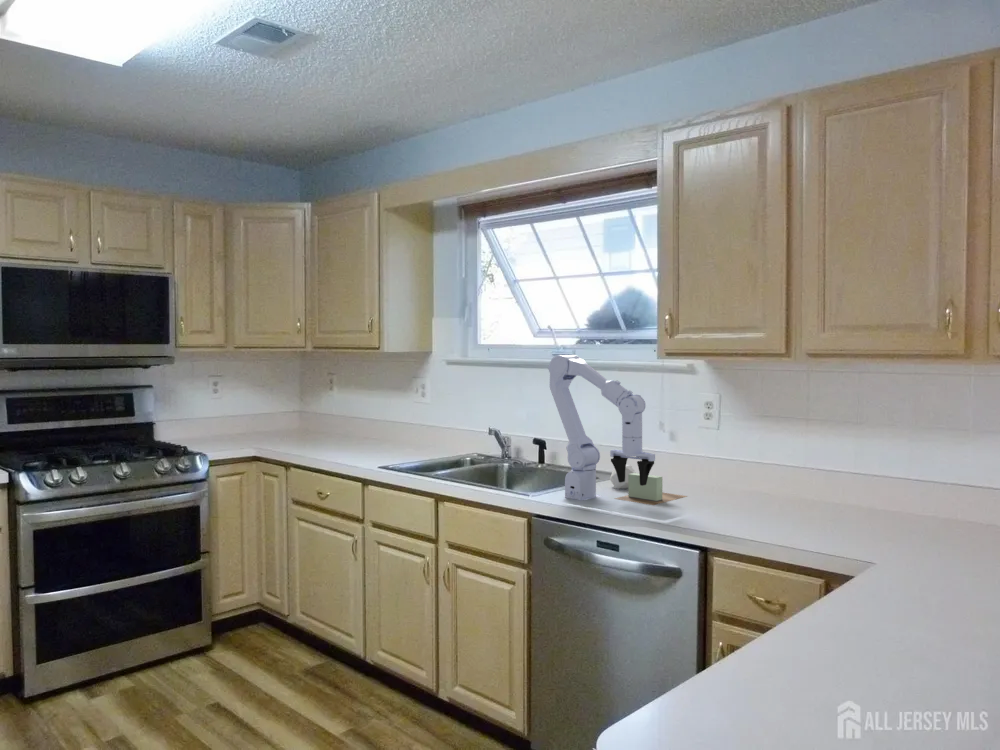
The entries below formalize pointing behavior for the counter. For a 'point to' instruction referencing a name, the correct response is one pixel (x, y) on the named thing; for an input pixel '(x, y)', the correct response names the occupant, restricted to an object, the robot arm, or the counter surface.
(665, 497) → the walnut board
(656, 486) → the sage slab
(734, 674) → the counter surface
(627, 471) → the die
